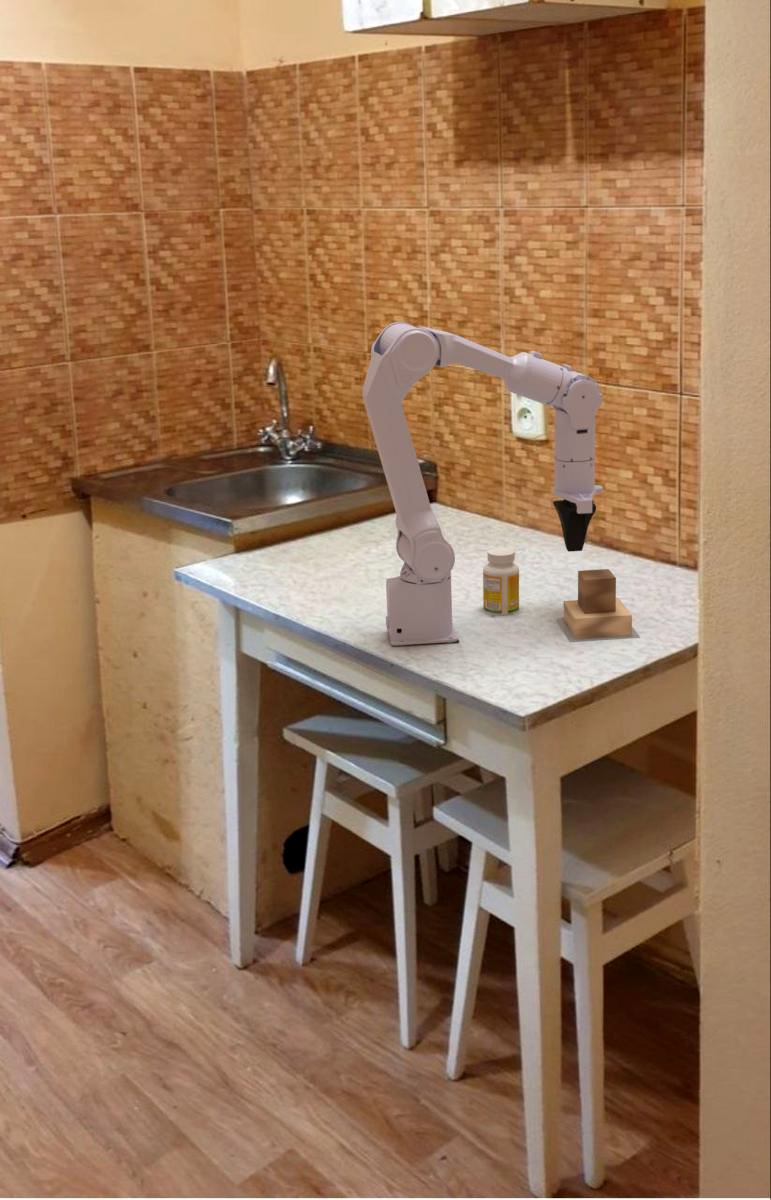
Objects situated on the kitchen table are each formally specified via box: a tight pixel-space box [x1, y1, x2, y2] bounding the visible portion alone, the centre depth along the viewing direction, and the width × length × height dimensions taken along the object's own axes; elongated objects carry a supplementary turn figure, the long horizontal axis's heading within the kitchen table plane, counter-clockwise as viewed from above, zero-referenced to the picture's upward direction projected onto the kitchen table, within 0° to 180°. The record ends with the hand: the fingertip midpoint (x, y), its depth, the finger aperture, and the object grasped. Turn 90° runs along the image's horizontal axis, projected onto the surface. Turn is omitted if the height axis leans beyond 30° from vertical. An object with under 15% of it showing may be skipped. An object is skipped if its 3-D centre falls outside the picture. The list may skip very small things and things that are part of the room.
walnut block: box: [577, 568, 617, 614], centre depth 183 cm, size 4×4×5 cm
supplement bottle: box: [482, 547, 520, 616], centre depth 193 cm, size 5×5×10 cm
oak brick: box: [563, 597, 633, 639], centre depth 184 cm, size 8×8×3 cm
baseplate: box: [555, 617, 642, 643], centre depth 185 cm, size 10×10×1 cm
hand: (574, 550), depth 188 cm, fingers closed
